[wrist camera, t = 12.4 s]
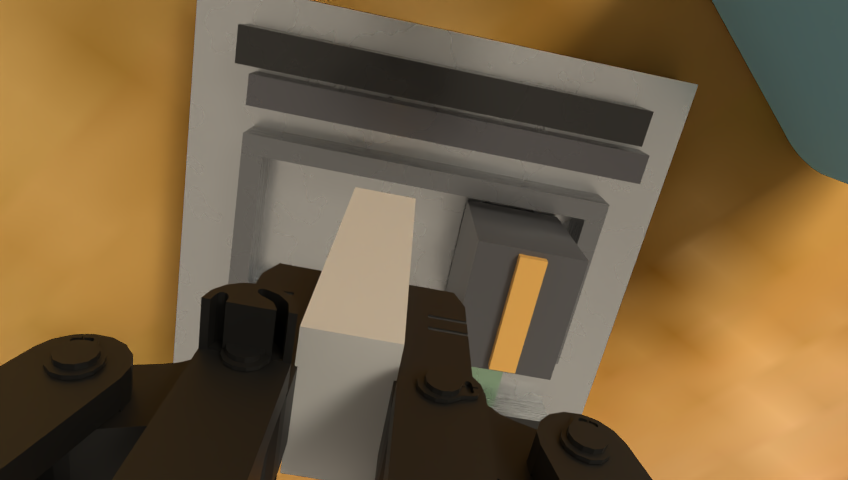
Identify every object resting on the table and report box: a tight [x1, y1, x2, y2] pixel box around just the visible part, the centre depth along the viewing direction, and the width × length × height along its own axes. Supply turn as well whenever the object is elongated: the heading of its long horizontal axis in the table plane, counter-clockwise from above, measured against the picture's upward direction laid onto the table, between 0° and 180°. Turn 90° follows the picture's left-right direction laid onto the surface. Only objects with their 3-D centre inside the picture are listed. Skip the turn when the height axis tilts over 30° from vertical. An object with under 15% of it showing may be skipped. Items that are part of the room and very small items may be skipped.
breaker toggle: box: [446, 200, 589, 380], centre depth 24 cm, size 5×4×5 cm
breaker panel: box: [173, 0, 698, 430], centre depth 26 cm, size 18×20×4 cm
